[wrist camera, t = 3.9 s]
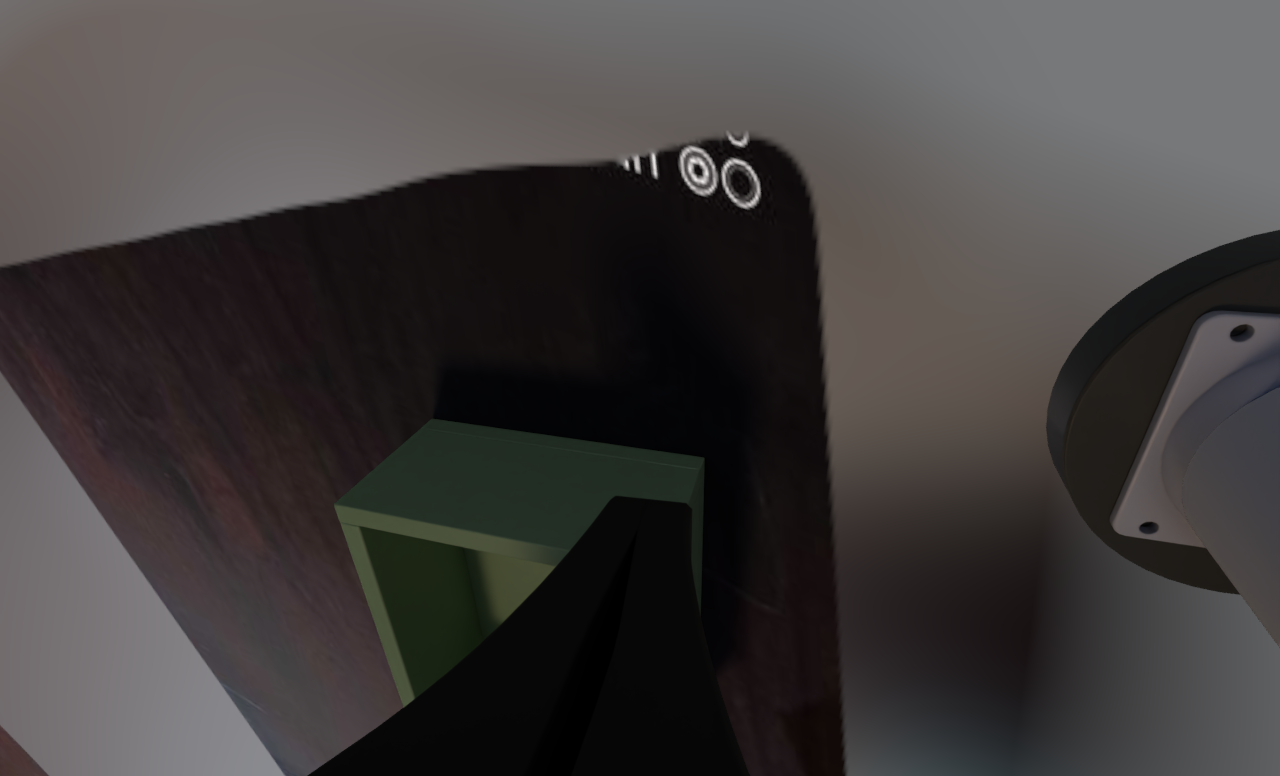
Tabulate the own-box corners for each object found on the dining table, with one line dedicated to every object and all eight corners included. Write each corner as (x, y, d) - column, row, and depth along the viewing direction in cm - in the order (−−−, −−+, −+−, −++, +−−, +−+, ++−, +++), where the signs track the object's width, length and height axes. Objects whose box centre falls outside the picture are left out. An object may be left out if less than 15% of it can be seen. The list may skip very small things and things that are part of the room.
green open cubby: (482, 639, 32) (415, 745, 27) (431, 418, 25) (332, 504, 20) (699, 694, 29) (668, 825, 24) (704, 457, 22) (664, 569, 17)
